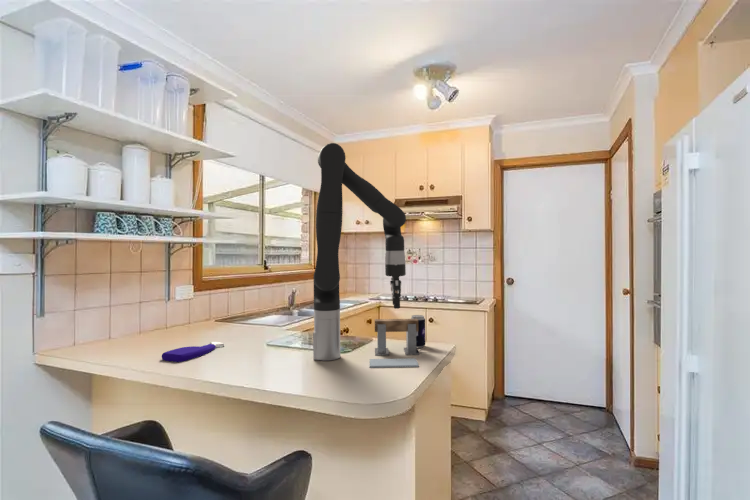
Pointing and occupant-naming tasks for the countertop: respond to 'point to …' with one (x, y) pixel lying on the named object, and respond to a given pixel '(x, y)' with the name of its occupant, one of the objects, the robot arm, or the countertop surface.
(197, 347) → the purple flat tapered piece
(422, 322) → the beverage can
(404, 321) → the rail
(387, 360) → the mat
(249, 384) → the countertop surface
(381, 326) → the grey metal bracket
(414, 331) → the grey bracket
